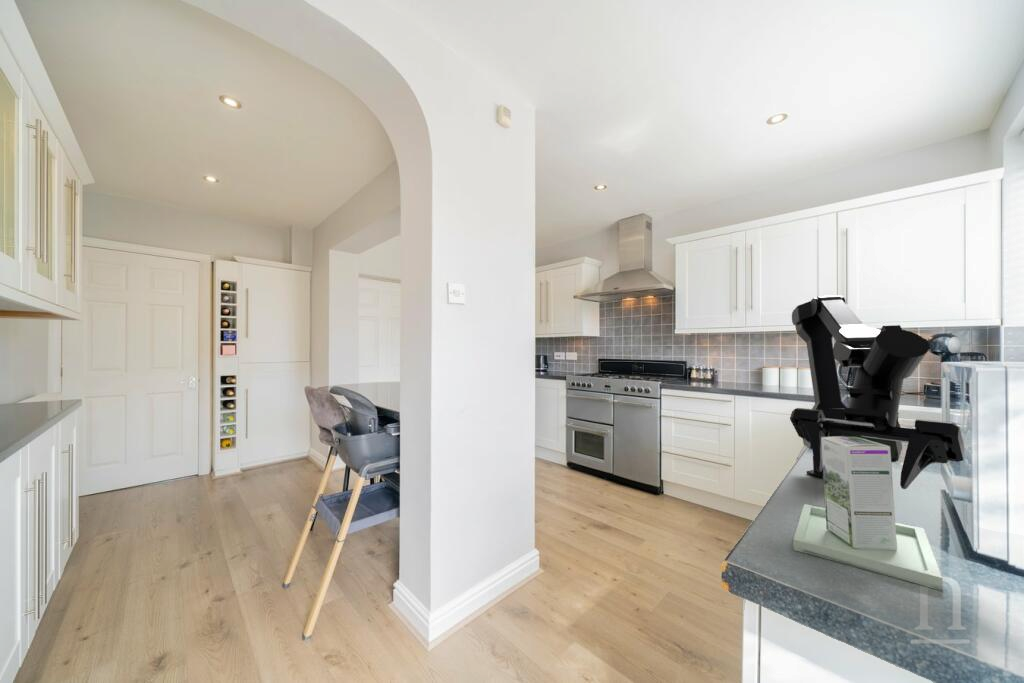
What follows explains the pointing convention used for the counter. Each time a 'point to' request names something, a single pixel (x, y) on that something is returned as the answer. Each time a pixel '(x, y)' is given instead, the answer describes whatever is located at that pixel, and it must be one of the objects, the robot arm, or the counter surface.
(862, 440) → the syrup box
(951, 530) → the counter surface
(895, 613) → the counter surface
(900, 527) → the tray
